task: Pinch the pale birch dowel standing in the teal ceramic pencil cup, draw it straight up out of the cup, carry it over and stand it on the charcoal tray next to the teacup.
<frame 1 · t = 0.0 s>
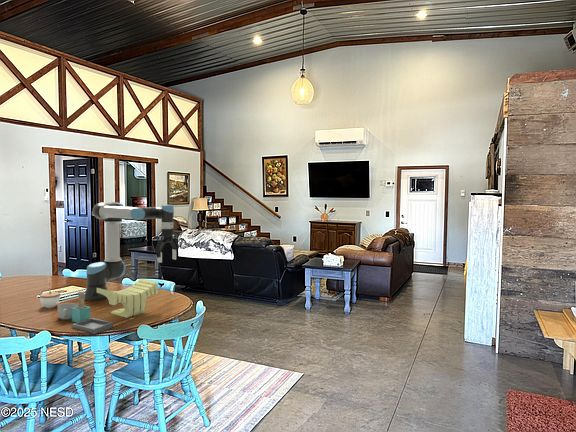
hand: (167, 260, 255), 28 cm above the table, fingers open, 13 cm apart
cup: (81, 321, 216), on the table
lidded jar: (50, 306, 244), on the table
teacup: (67, 320, 220), on the table
slatted curved stool: (128, 314, 231), on the table
tray: (92, 328, 207), on the table
dowel: (81, 320, 216), point 1 cm above the table, touching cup
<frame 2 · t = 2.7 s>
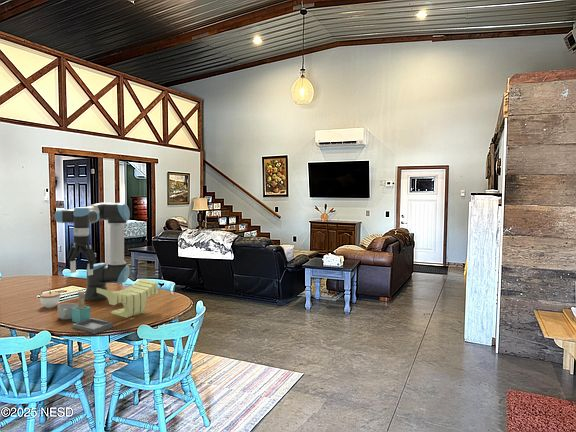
hand: (81, 273, 215), 27 cm above the table, fingers open, 13 cm apart
nothing on the table moved.
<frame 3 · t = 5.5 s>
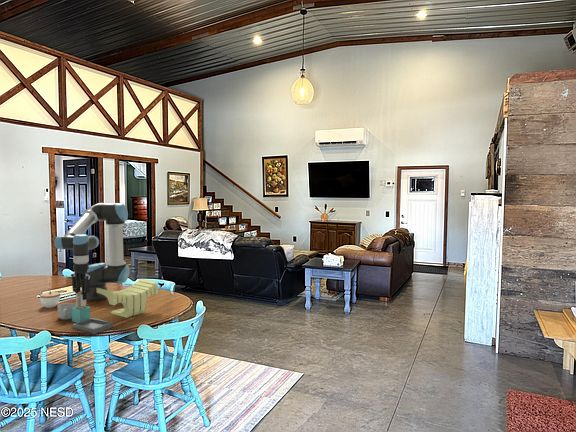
hand: (81, 304, 216), 10 cm above the table, fingers closed on dowel, 3 cm apart
dowel: (81, 320, 216), point 1 cm above the table, touching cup, gripper
everything else where it was.
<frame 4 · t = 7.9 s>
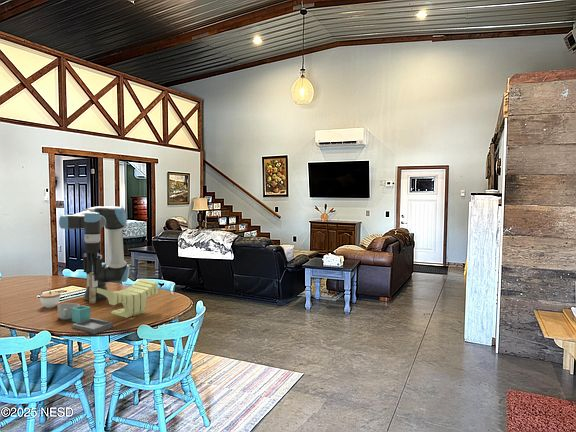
hand: (92, 286, 206), 22 cm above the table, fingers closed on dowel, 3 cm apart
dowel: (92, 302, 206), point 14 cm above the table, touching gripper
everything else where it was.
when the fingers open (11 cm above the table, at t = 10.6 s): dowel drops 1 cm, resting on tray.
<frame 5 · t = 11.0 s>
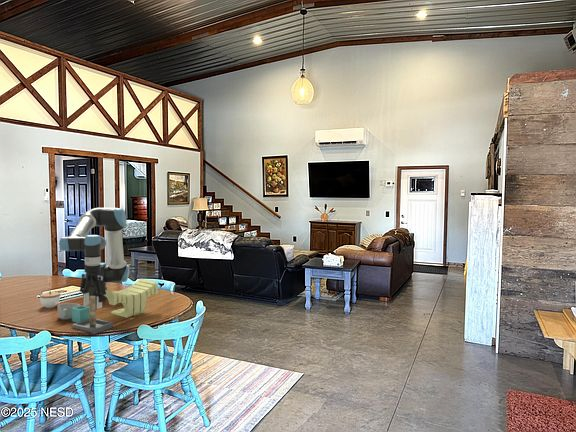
hand: (92, 306, 206), 12 cm above the table, fingers open, 9 cm apart
dowel: (92, 326, 207), point 1 cm above the table, touching tray
everything else where it was.
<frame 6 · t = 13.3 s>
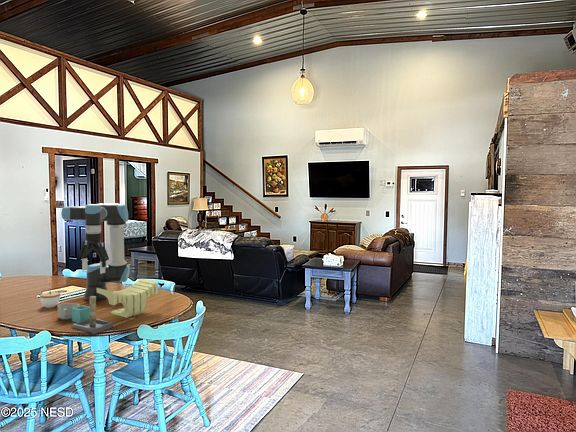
hand: (93, 271, 213), 29 cm above the table, fingers open, 13 cm apart
nothing on the table moved.
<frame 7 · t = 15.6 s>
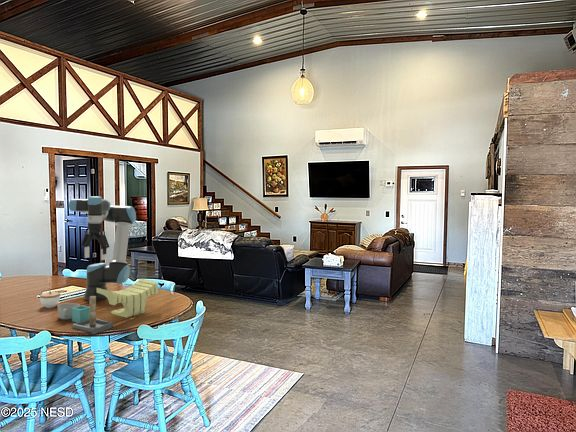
hand: (95, 258, 230), 33 cm above the table, fingers open, 13 cm apart
nothing on the table moved.
at the end: dowel inside the target area on the tray (0.0 cm from its centre), point 1.0 cm above the tray's base; dowel tilted 0°; the gripper is holding nothing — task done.
